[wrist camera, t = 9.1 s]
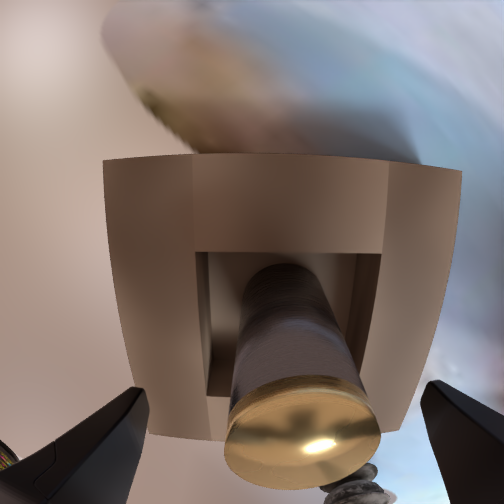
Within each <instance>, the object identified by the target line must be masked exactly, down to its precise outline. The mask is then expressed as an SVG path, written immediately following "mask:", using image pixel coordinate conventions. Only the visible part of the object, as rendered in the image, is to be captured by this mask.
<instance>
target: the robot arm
mask: <svg viewBox="0 0 504 504" xmlns="http://www.w3.org/2000/svg"><path fill="white" fill-rule="evenodd" d="M420 406H421V410H422V413H423V417H424V421H425V425H426V429H427V433H428V437H429V440H430V443H431V446H432V449H433V452H434V455H435V458H436V460H437V463H438V466H439V469H440V472H441V475H442V478H443V481H444V484H445V487H446V490H447V494H448V497H449V500H450V503H451V504H504V416H503V415H502V414H500V413H498V412H496V411H494V410H493V409H491V408H489V407H487V406H485V405H484V404H482V403H480V402H478V401H476V400H475V399H473V398H471V397H469V396H467V395H466V394H464V393H462V392H460V391H459V390H457V389H455V388H453V387H452V386H450V385H448V384H446V383H445V382H443V381H441V380H433V381H429V382H428V383H427V385H426V387H425V390H424V392H423V395H422V397H421V401H420ZM149 413H150V407H149V403H148V399H147V395H146V392H145V390H144V388H140V387H130V388H129V389H127V390H126V391H125V392H123V393H122V394H120V395H119V396H117V397H116V398H115V399H113V400H112V401H110V402H109V403H108V404H106V405H105V406H103V407H102V408H101V409H99V410H98V411H96V412H95V413H93V414H92V415H91V416H89V417H88V418H86V419H85V420H83V421H82V422H80V423H79V424H78V425H76V426H75V427H73V428H72V429H70V430H69V431H67V432H66V433H64V434H63V435H62V436H60V437H59V438H57V439H56V440H55V441H53V442H51V443H50V444H48V445H47V446H45V447H43V448H42V449H41V450H39V451H37V452H35V453H34V454H32V455H30V456H28V457H27V458H25V459H23V460H21V461H19V462H17V463H15V464H13V465H11V466H9V467H6V468H4V469H2V470H0V504H126V501H127V498H128V495H129V491H130V488H131V485H132V482H133V479H134V475H135V473H136V469H137V466H138V463H139V460H140V457H141V453H142V449H143V444H144V438H145V433H146V428H147V423H148V418H149Z"/></svg>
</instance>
